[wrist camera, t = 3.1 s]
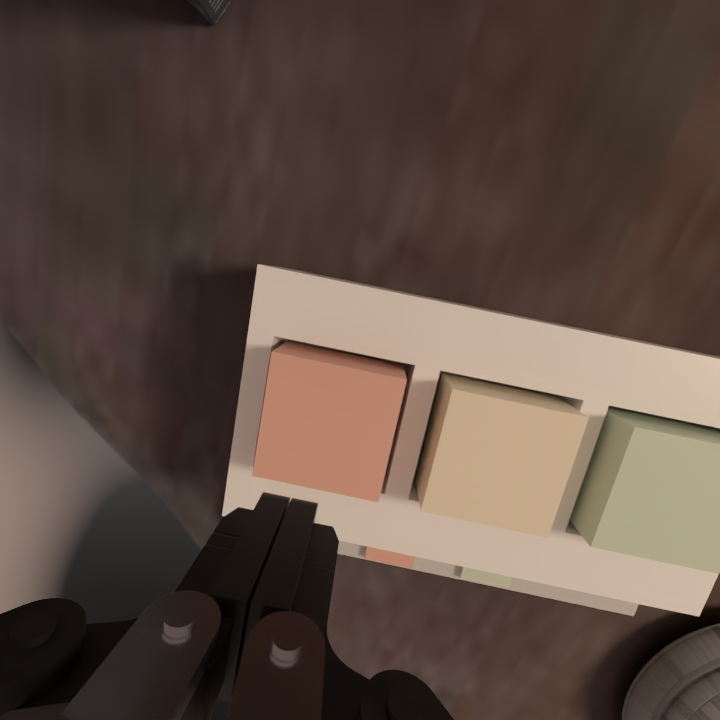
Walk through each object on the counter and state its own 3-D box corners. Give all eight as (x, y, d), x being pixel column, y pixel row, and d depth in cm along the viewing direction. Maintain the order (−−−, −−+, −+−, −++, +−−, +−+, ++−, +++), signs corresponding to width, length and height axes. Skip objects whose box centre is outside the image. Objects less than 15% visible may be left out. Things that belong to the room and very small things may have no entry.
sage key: (714, 429, 20) (772, 455, 17) (672, 533, 21) (719, 574, 18) (597, 405, 20) (634, 426, 17) (561, 509, 21) (590, 546, 18)
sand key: (558, 397, 20) (589, 417, 17) (525, 502, 21) (547, 537, 18) (441, 372, 20) (452, 388, 17) (415, 479, 21) (420, 511, 18)
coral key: (403, 365, 20) (406, 379, 17) (378, 471, 21) (378, 502, 18) (287, 341, 20) (271, 351, 17) (269, 448, 21) (252, 475, 18)
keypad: (715, 355, 23) (807, 376, 18) (619, 597, 26) (674, 670, 21) (283, 267, 23) (257, 264, 18) (244, 518, 26) (213, 572, 21)
